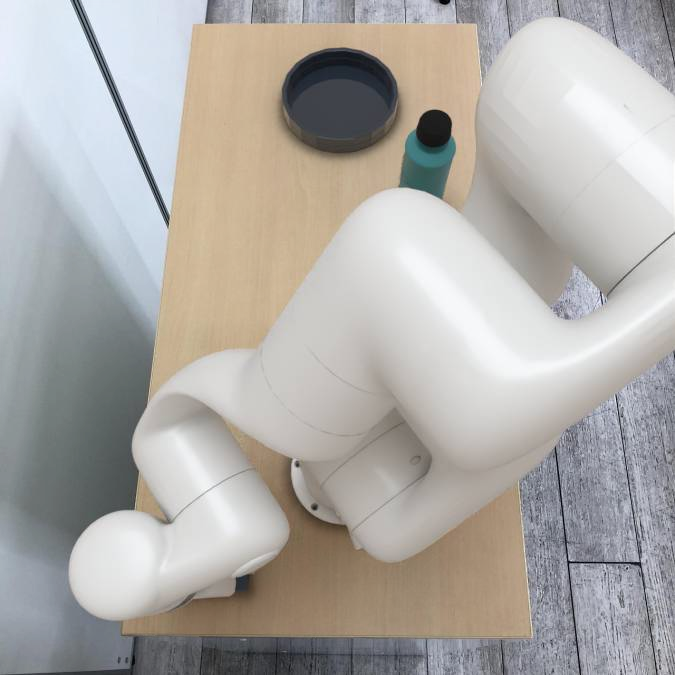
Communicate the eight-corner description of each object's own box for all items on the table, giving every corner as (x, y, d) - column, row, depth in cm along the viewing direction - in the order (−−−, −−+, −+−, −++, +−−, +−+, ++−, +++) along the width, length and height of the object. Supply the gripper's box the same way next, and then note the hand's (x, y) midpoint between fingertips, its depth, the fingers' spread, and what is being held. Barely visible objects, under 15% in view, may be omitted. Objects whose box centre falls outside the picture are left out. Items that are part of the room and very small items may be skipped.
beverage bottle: (439, 196, 92) (465, 99, 73) (437, 236, 90) (463, 146, 71) (395, 192, 92) (409, 95, 74) (391, 232, 90) (406, 141, 71)
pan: (414, 133, 96) (417, 117, 93) (308, 169, 94) (307, 154, 90) (369, 51, 102) (370, 34, 98) (268, 84, 99) (265, 67, 96)
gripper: (59, 613, 54) (126, 604, 71) (255, 612, 54) (275, 604, 71) (72, 522, 56) (134, 535, 73) (259, 521, 56) (277, 534, 73)
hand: (203, 568), depth 72 cm, fingers closed on block, 4 cm apart
